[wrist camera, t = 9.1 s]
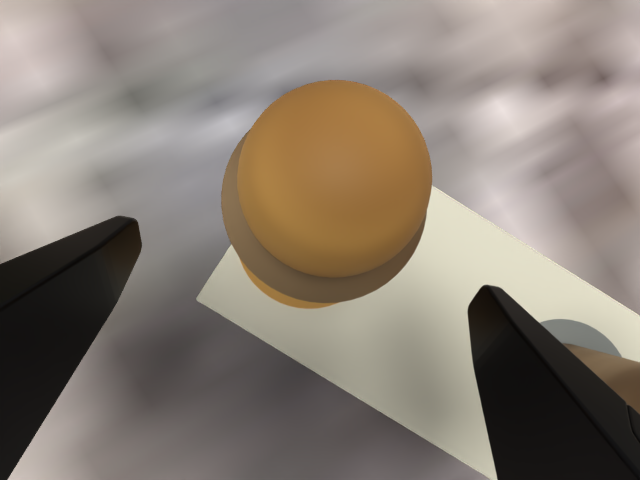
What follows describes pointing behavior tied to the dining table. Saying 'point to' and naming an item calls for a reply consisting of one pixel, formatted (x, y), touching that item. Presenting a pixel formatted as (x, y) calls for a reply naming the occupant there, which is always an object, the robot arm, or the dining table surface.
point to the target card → (426, 324)
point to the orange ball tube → (328, 192)
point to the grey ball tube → (613, 372)
